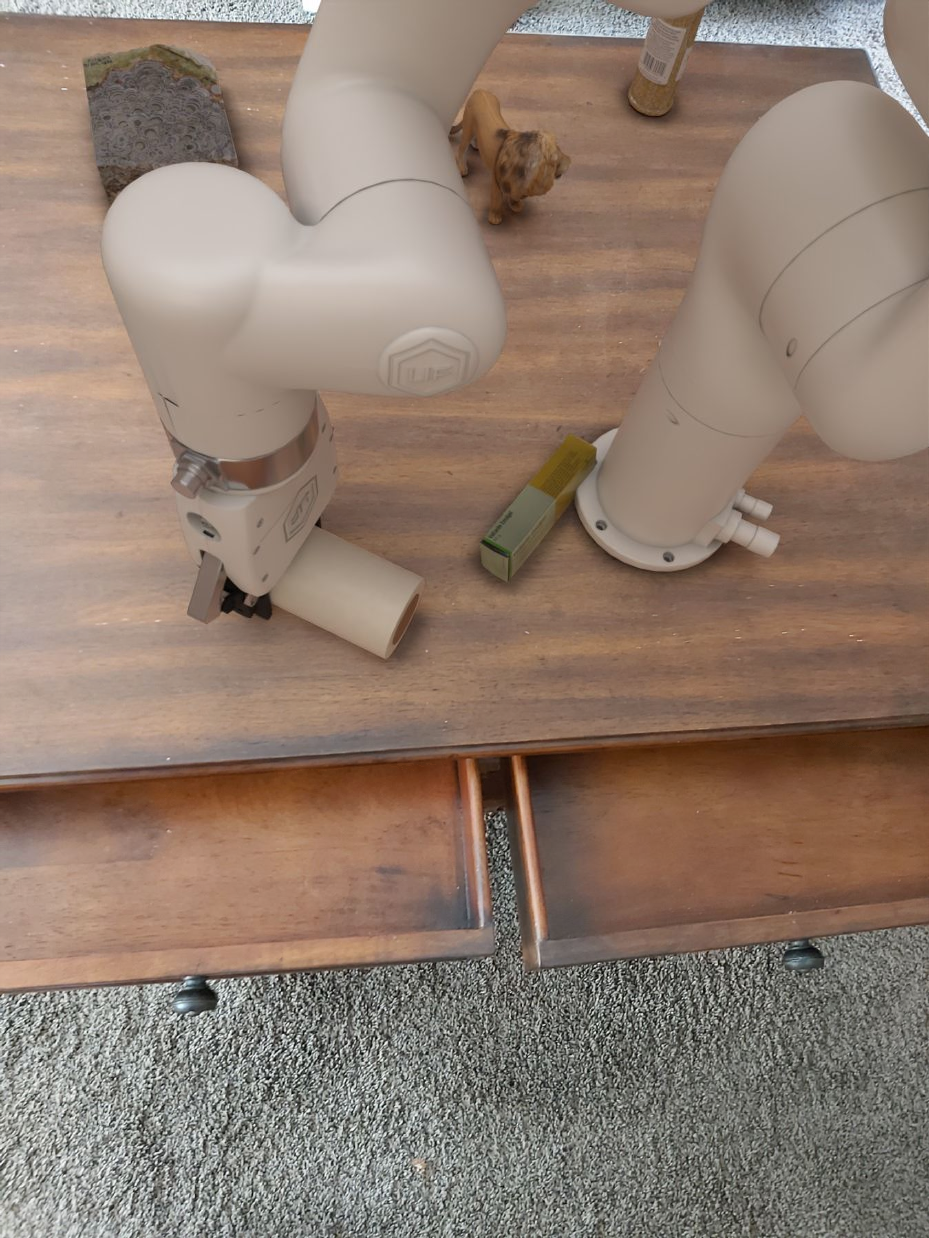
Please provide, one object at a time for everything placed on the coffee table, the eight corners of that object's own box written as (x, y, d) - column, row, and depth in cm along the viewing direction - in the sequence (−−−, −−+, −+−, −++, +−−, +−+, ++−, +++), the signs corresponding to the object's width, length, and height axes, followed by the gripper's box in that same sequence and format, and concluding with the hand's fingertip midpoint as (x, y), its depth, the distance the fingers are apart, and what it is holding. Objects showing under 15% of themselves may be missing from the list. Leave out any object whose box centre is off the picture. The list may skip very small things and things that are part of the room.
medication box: (508, 588, 61) (507, 560, 58) (478, 571, 62) (475, 542, 58) (594, 477, 65) (599, 445, 62) (565, 462, 66) (568, 429, 63)
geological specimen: (97, 177, 64) (72, 34, 68) (120, 236, 70) (96, 101, 74) (238, 160, 66) (205, 22, 70) (249, 219, 71) (218, 89, 76)
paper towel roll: (429, 564, 54) (264, 485, 55) (386, 641, 52) (215, 557, 52) (423, 600, 59) (273, 527, 60) (384, 671, 57) (229, 594, 58)
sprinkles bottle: (680, 109, 82) (737, -41, 69) (644, 124, 80) (696, -27, 68) (652, 80, 83) (703, -73, 70) (616, 93, 81) (662, -60, 69)
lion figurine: (561, 232, 74) (586, 141, 66) (513, 254, 72) (533, 164, 64) (467, 126, 77) (479, 27, 69) (419, 144, 76) (426, 46, 68)
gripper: (214, 588, 38) (259, 697, 55) (388, 328, 45) (381, 496, 61) (72, 518, 39) (160, 647, 55) (264, 271, 45) (291, 453, 62)
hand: (276, 567), depth 58 cm, fingers closed on paper towel roll, 6 cm apart
